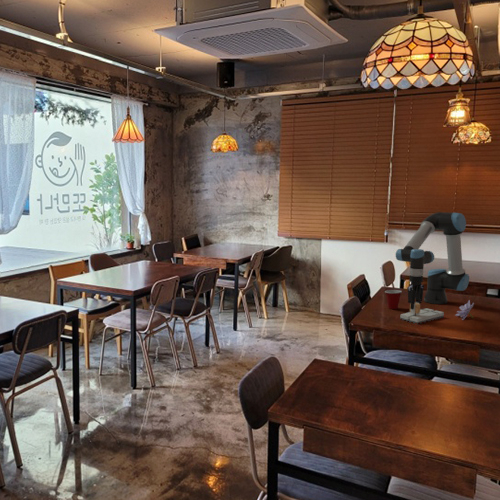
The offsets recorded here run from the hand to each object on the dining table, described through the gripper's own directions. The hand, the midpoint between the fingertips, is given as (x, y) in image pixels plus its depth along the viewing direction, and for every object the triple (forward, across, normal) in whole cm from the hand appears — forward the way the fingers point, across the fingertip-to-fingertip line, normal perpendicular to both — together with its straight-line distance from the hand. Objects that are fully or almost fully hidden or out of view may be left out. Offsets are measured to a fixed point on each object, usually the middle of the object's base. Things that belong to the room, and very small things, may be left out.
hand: (414, 313), depth 273 cm
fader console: (+4, +8, 0) cm, 9 cm away
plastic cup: (+4, +12, +26) cm, 29 cm away
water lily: (+4, +30, -13) cm, 33 cm away
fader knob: (+3, 0, 0) cm, 3 cm away
